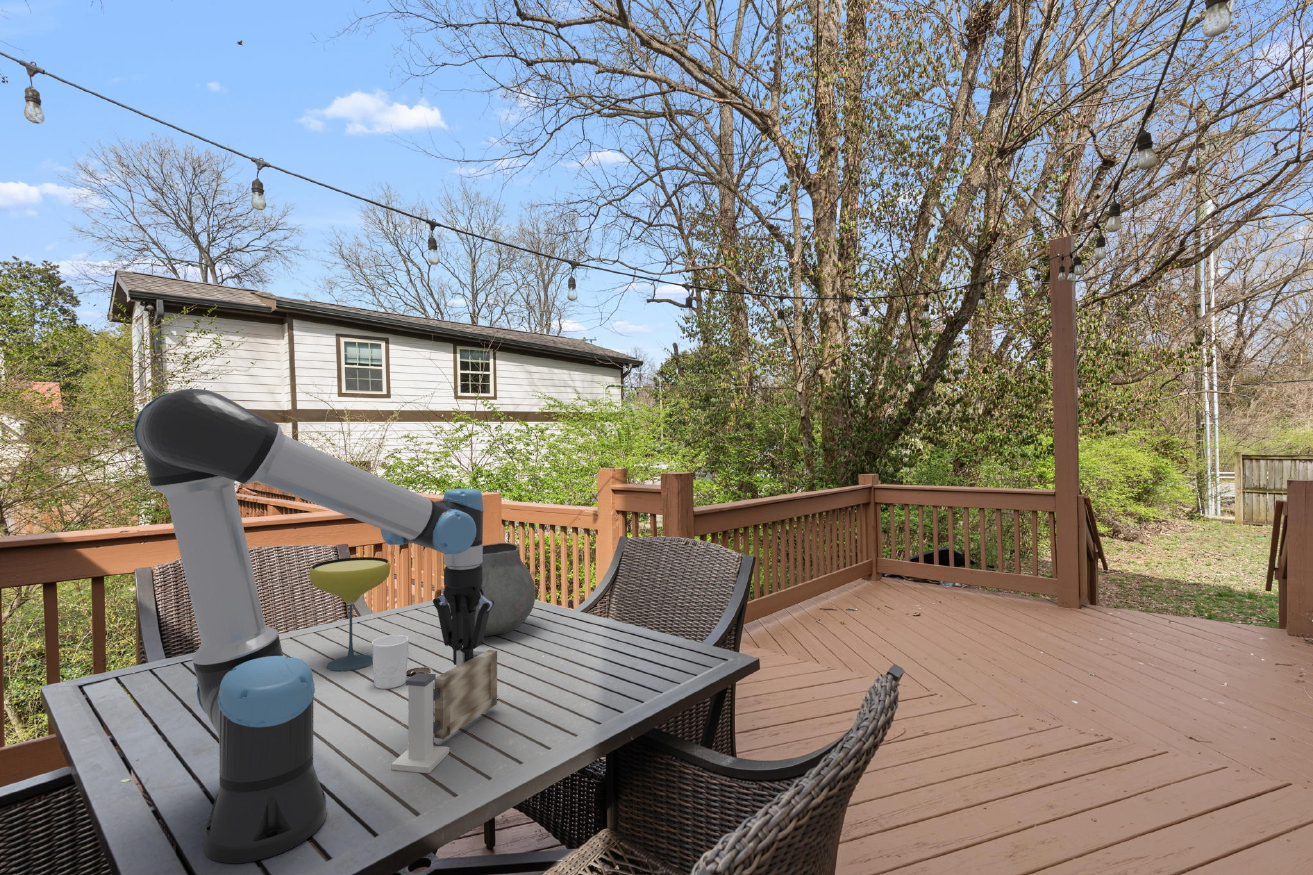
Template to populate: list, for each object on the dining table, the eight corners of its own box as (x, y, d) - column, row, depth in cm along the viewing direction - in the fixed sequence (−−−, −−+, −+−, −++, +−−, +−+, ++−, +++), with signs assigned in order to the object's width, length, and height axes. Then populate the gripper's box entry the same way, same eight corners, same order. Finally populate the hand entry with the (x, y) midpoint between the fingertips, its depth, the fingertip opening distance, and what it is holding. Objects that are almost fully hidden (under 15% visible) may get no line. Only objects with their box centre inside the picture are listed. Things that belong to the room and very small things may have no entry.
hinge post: (429, 773, 106) (429, 686, 106) (391, 769, 107) (391, 683, 107) (449, 752, 113) (449, 671, 113) (413, 749, 114) (413, 668, 114)
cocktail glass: (315, 655, 162) (315, 559, 162) (391, 647, 169) (391, 554, 169) (303, 681, 146) (303, 574, 145) (388, 671, 152) (388, 568, 152)
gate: (430, 747, 112) (430, 686, 112) (421, 745, 113) (421, 684, 113) (497, 703, 130) (497, 650, 130) (489, 702, 131) (489, 649, 131)
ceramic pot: (449, 623, 190) (449, 541, 190) (530, 617, 197) (530, 537, 197) (448, 650, 167) (448, 556, 167) (540, 641, 174) (540, 551, 174)
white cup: (395, 691, 140) (395, 647, 140) (364, 688, 142) (364, 644, 142) (415, 678, 148) (415, 636, 148) (385, 675, 149) (385, 633, 149)
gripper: (501, 563, 129) (501, 677, 129) (446, 559, 132) (446, 670, 133) (482, 571, 121) (481, 692, 122) (424, 567, 125) (424, 684, 125)
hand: (463, 680), depth 127 cm, fingers closed
